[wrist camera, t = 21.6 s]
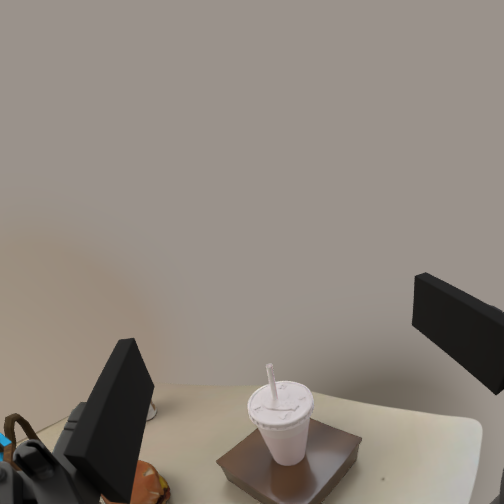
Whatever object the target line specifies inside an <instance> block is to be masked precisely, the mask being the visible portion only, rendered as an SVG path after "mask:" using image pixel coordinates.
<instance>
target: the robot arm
mask: <svg viewBox="0 0 504 504" xmlns="http://www.w3.org/2000/svg"><path fill="white" fill-rule="evenodd" d="M412 326H414V327H415V328H416V329H417V330H419V331H420V332H421V333H422V334H424V335H425V336H426V337H427V338H429V339H430V340H431V341H432V342H434V343H435V344H436V345H437V346H438V347H440V348H441V349H442V350H443V351H445V352H446V353H447V354H448V355H449V356H451V357H452V358H453V359H454V360H455V361H457V362H458V363H459V364H460V365H461V366H463V367H464V368H465V369H466V370H467V371H468V372H470V373H471V374H472V375H473V376H474V377H476V378H477V379H478V380H479V381H480V382H481V383H482V384H484V385H485V386H486V387H487V388H488V389H489V390H491V391H492V392H493V393H494V394H495V395H497V394H499V393H500V392H501V391H502V390H504V312H502V311H501V310H500V309H498V308H496V307H494V306H491V305H488V304H486V303H484V302H482V301H480V300H479V299H477V298H475V297H473V296H471V295H469V294H467V293H465V292H464V291H461V290H460V289H458V288H456V287H454V286H452V285H450V284H448V283H446V282H444V281H442V280H440V279H438V278H436V277H434V276H432V275H430V274H428V273H423V274H419V275H416V276H415V282H414V304H413V318H412ZM153 390H154V384H153V382H152V380H151V377H150V375H149V373H148V371H147V368H146V366H145V363H144V361H143V359H142V357H141V354H140V351H139V349H138V346H137V344H136V341H135V339H134V338H130V339H121V340H119V341H118V343H117V344H116V346H115V348H114V350H113V352H112V354H111V355H110V358H109V359H108V361H107V363H106V365H105V367H104V369H103V371H102V373H101V375H100V376H99V378H98V380H97V382H96V385H95V386H94V388H93V390H92V393H91V394H90V396H89V398H88V401H87V402H81V403H80V404H79V405H78V406H77V407H76V408H75V409H74V410H73V411H72V412H71V414H70V416H69V418H68V420H67V421H68V422H66V424H65V426H64V430H62V433H61V435H60V437H59V439H58V441H57V443H56V445H55V447H54V450H53V452H52V453H51V452H50V451H49V450H48V449H47V448H46V446H45V445H44V444H43V443H42V442H41V441H39V440H35V439H30V440H27V441H24V442H23V443H21V444H20V445H19V446H18V447H17V448H16V449H15V452H14V454H13V462H14V463H15V464H16V465H17V466H18V467H19V468H20V469H21V470H22V471H16V470H15V469H14V468H13V467H12V466H11V465H10V464H9V463H7V462H5V461H0V504H101V503H100V502H99V500H100V496H101V494H102V495H103V496H104V497H105V498H106V499H107V500H108V501H110V502H115V503H123V504H130V501H131V495H132V489H133V484H134V478H135V473H136V468H137V462H138V457H139V452H140V448H141V443H142V438H143V433H144V429H145V424H146V420H147V415H148V411H149V407H150V403H151V399H152V394H153Z"/></svg>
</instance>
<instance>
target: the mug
mask: <svg viewBox="0 0 504 504" xmlns="http://www.w3.org/2000/svg"><path fill="white" fill-rule="evenodd" d="M15 421H17V422H18V423H19V424H20V425H21V427H22V428H23V430H24V432H25V433H26V435H27V437H28V438H29V440H30V439H35V440H39V441H41V440H40V439H39V438H38V436H37V435H36V433H35V432H34V430H33V429H32V427H31V426H30V424H29V422H28V421H26V420H25V419H24V418H23V417H21V416H20V415H19V414H17V413H15V414H12V415H9V416H7V417H6V418H5V423H4V432H5V436H4V435H3V434H1V433H0V461H5V462H7V463H9V464H10V465H11V466H12V467H13V468H14V469H15V470H16V471H22V470H21V469H20V468H19V467H18V466H17V465H16V464H15V463H14V462H13V454H14V452H15V449H16V438H15V432H14V424H15Z"/></svg>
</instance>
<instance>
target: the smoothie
mask: <svg viewBox="0 0 504 504" xmlns="http://www.w3.org/2000/svg"><path fill="white" fill-rule="evenodd" d="M266 368H267V373H268V378H269V384H267V385H264V386H262V387H261V388H259V389H258V390H256V391H255V392H254V393H253V394H252V395H251V397H250V398H249V401H248V405H247V407H248V413H249V417H250V419H251V420H252V422H253V423H254V424H255V425H257V427H258V429H259V431H260V433H261V435H262V437H263V438H264V440H265V442H266V444H267V446H268V448H269V450H270V452H271V454H272V456H273V458H274V460H275V461H276V462H277V463H279V464H281V465H284V466H291V465H295V464H297V463H299V462H300V461H301V460H302V459H303V458H304V456H305V450H306V443H307V435H308V427H309V420H310V416H311V414H312V413H313V409H314V400H313V396H312V393H311V391H310V390H309V389H308V388H307V387H305V386H304V385H302V384H300V383H297V382H292V381H278V382H275V377H274V372H273V366H272V364H267V365H266Z"/></svg>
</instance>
